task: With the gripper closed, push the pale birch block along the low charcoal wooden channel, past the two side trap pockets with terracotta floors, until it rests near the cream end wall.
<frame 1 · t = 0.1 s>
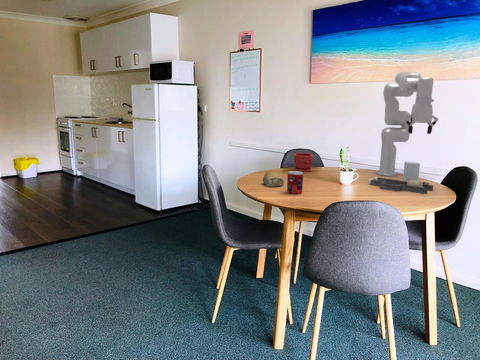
hand: (419, 133, 202), 31 cm above the table, tool pointing down, fingers open, 9 cm apart
supplement box: (409, 183, 227), on the table
birch block: (414, 190, 207), resting in trap channel
trap channel: (399, 187, 213), on the table
plant pot: (302, 171, 261), on the table
pastry: (272, 185, 215), on the table
canned food: (294, 193, 196), on the table
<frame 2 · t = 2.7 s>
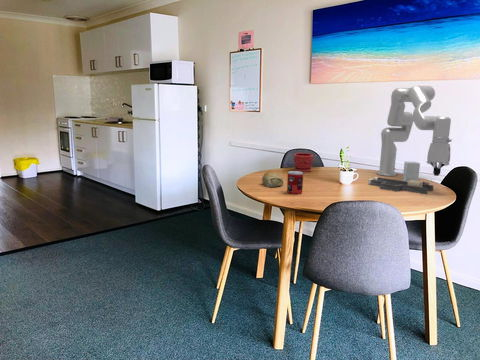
hand: (436, 175, 198), 10 cm above the table, tool pointing down, fingers closed
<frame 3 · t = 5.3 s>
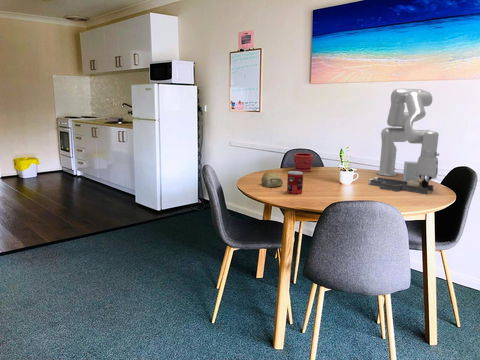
hand: (424, 187, 204), 2 cm above the table, tool pointing down, fingers closed
birch block: (414, 190, 208), resting in trap channel, touching gripper
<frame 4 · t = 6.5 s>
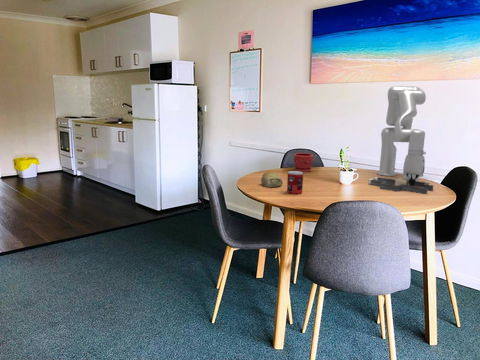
hand: (411, 185, 208), 2 cm above the table, tool pointing down, fingers closed
birch block: (401, 188, 212), resting in trap channel, touching gripper
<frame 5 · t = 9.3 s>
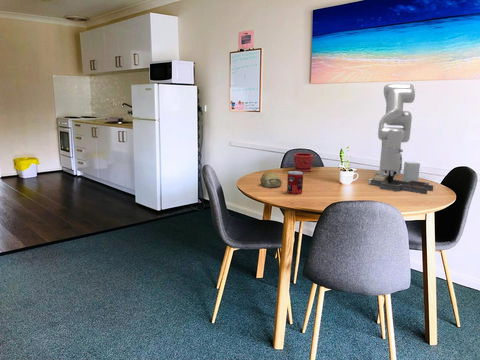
hand: (389, 182, 216), 2 cm above the table, tool pointing down, fingers closed
birch block: (380, 184, 220), resting in trap channel, touching gripper
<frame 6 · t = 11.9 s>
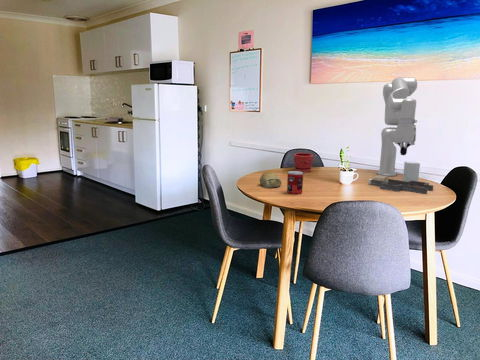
hand: (403, 154, 209), 19 cm above the table, tool pointing down, fingers closed
birch block: (380, 184, 220), resting in trap channel
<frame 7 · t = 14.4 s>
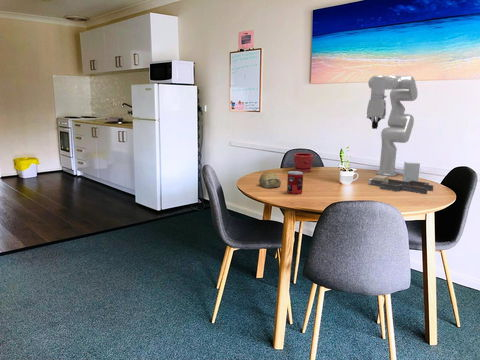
hand: (374, 128, 223), 32 cm above the table, tool pointing down, fingers closed
at the end: birch block inside the target area (0.9 cm from its centre), resting in trap channel; birch block tilted 0° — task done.
